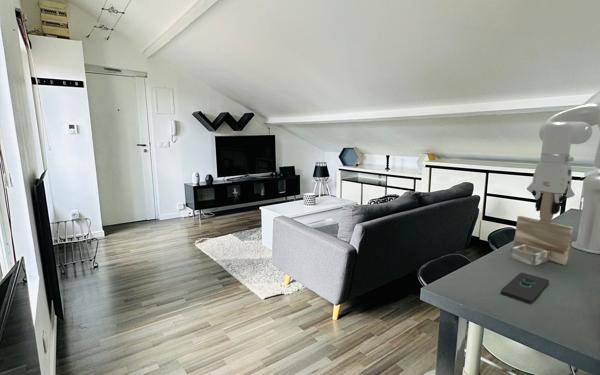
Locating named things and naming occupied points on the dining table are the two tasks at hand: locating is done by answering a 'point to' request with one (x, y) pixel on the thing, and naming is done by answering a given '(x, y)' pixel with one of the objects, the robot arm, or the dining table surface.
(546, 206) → the handle
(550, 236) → the wooden wall shelf
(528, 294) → the smart home device
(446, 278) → the dining table surface
